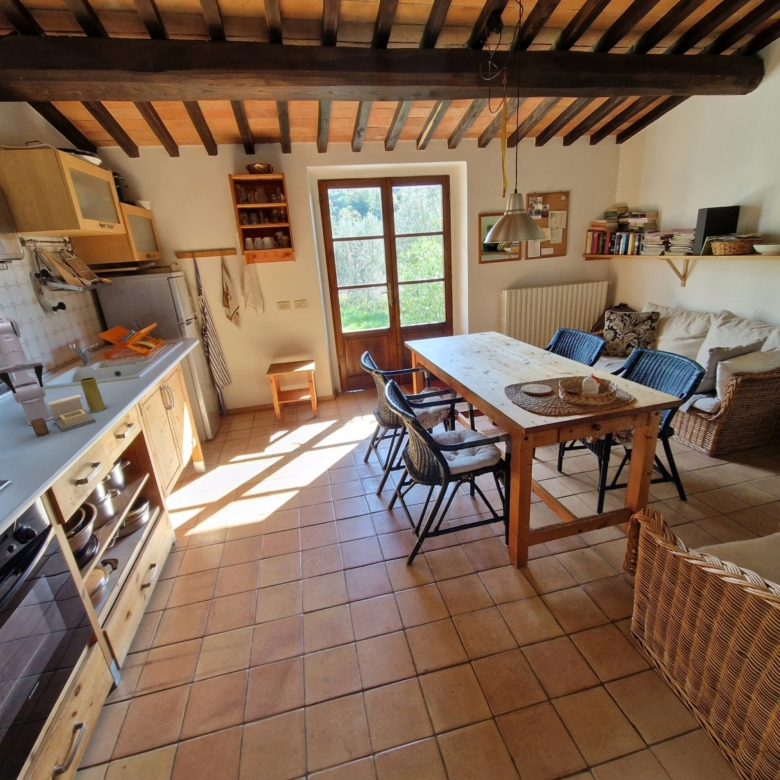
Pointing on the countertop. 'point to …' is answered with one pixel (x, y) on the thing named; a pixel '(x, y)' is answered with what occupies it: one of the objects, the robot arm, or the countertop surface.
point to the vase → (92, 394)
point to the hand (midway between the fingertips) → (28, 389)
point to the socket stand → (70, 413)
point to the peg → (39, 427)
